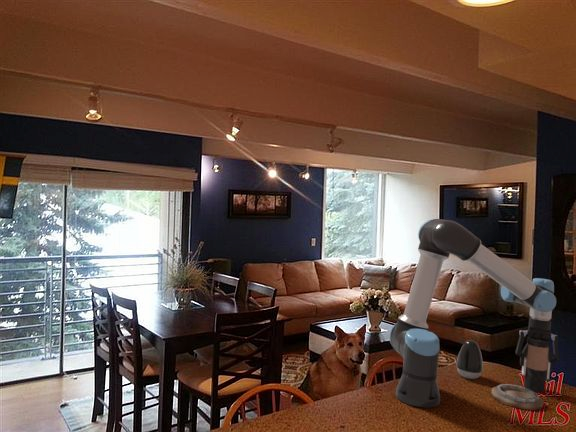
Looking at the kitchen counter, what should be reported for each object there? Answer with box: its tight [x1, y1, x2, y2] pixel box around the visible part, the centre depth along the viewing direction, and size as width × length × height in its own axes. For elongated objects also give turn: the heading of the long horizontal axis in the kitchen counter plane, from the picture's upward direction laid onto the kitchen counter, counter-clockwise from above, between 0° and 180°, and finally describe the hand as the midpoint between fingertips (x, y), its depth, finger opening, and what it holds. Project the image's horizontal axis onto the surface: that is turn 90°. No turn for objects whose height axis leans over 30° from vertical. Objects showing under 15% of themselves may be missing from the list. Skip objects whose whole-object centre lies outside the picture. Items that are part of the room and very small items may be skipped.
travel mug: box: [523, 336, 550, 394], centre depth 180 cm, size 8×8×20 cm
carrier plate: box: [490, 383, 544, 411], centre depth 169 cm, size 17×17×3 cm
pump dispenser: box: [455, 338, 484, 380], centre depth 189 cm, size 10×10×15 cm
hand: (535, 375), depth 180 cm, fingers closed on travel mug, 8 cm apart
